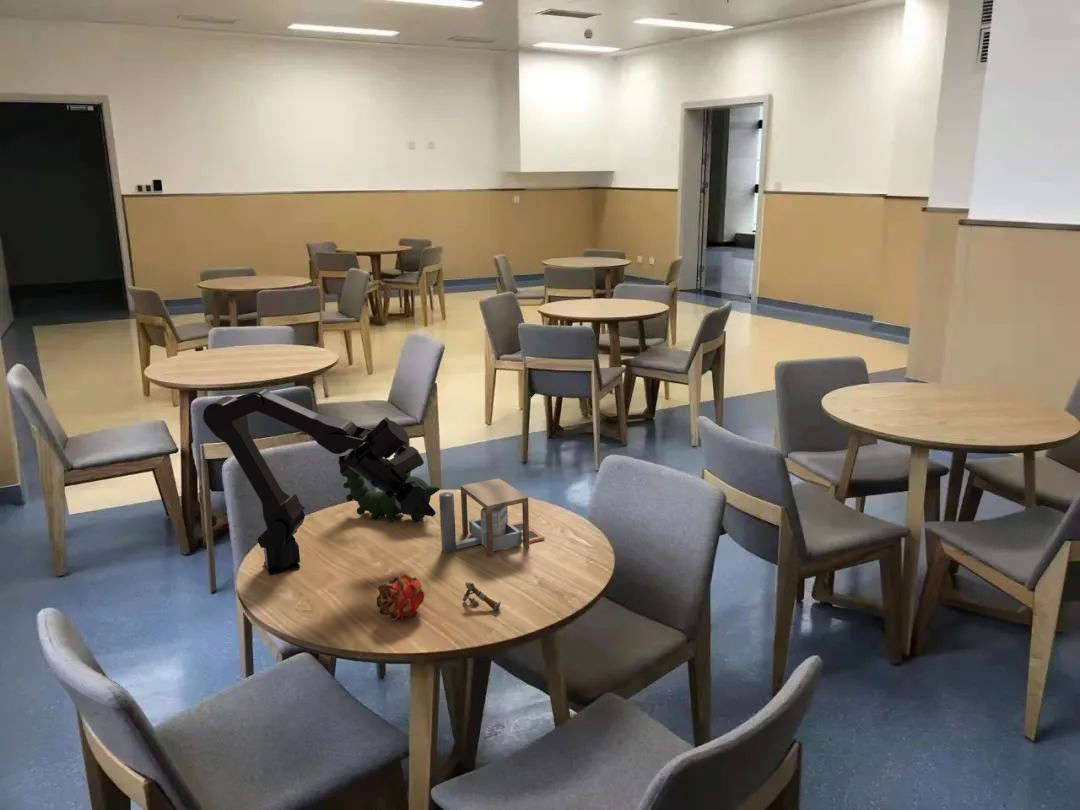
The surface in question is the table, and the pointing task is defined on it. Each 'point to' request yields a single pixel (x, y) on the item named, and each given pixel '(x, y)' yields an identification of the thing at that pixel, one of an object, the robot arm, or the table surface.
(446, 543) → the grey post with tray
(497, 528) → the medicine box
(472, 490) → the miniature wooden table
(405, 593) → the dragon fruit
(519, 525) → the pit plate
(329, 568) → the table surface
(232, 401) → the robot arm
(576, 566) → the table surface
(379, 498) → the toy figurine
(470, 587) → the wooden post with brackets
